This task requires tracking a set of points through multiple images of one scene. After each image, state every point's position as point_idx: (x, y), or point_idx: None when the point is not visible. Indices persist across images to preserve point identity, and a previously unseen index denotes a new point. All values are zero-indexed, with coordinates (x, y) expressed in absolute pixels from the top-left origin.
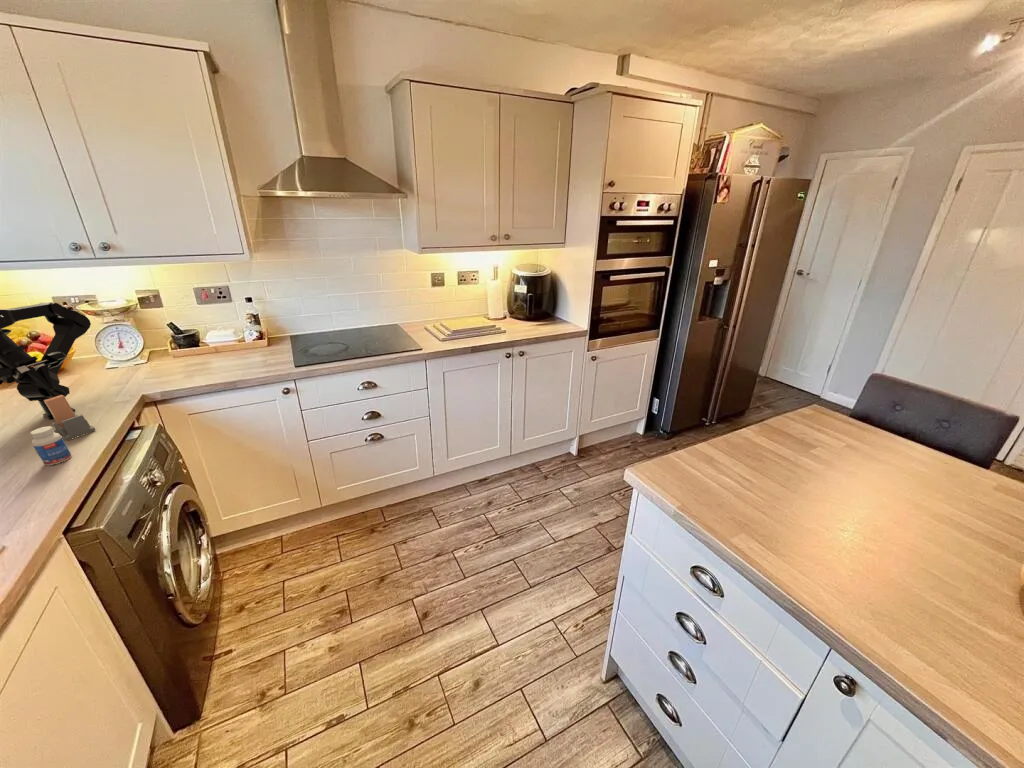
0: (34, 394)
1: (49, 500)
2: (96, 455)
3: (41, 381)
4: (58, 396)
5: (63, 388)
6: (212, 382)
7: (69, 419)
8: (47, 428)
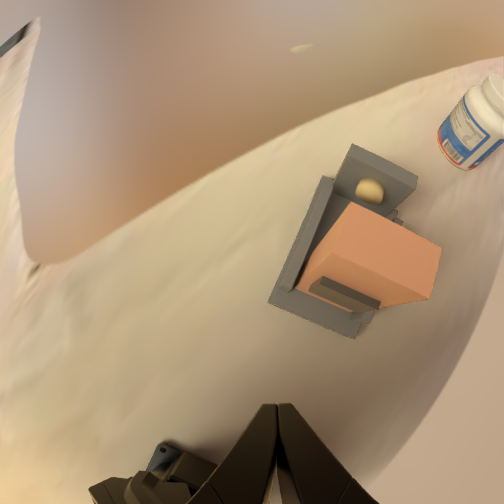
0: None
1: None
2: (414, 82)
3: (346, 472)
4: (364, 243)
5: (111, 495)
6: (15, 120)
7: (395, 166)
8: (496, 80)
